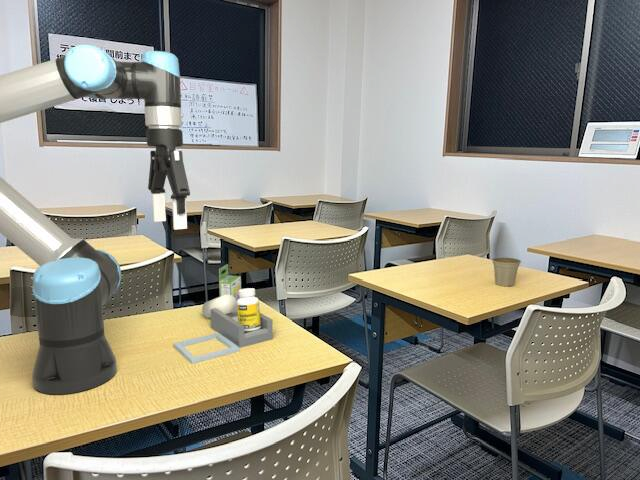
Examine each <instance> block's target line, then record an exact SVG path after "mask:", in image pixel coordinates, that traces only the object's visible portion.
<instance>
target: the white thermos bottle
mask: <svg viewBox="0 0 640 480" xmlns="http://www.w3.org/2000/svg"><path fill="white" fill-rule="evenodd" d="M236 305H237V303H236V300H235V298H234V297H233V296H232V295H224V296H221V297H220V296H218V297H215V298H213V299H211V300H207V301H206V302H204V304H203V305H202V308H201V311H202V314H203V316H204V317H205V318H207V319H211V309H214V308H216V309H218V310H219V311H221V312H223V313H224V314H228V313H231V312H233V311H234V310H235V309H236Z"/></svg>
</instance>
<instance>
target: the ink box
mask: <svg viewBox="0 0 640 480" xmlns="http://www.w3.org/2000/svg"><path fill="white" fill-rule="evenodd" d="M223 271H225V272H224V273H223ZM218 279H219V280H218V281H219V282H218V286H219V297H221V296H224V295H232V296H233V297H234V298H235V300H236V303H237V300H238V299H240V296H239V292H238V291H239V290H240V289H242V277H241V276H239V275H229V264H228V263H227V264H225V265H223V266H221V267H220V268H219V269H218ZM234 312H237V305H236V309H235V310H234V311H233V312H231V313H234ZM228 314H229V313H228Z"/></svg>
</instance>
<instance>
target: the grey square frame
mask: <svg viewBox="0 0 640 480" xmlns="http://www.w3.org/2000/svg"><path fill="white" fill-rule="evenodd" d="M215 339H217V340H218V341H219V342H220V343H222V344H223V345H225V346H226V347H227V348H225V349H220V350H215V351H212V352H209V353H204V354H200V355H197V356H195V355H193V353H191V351H189V350H188V349H187V348H186V346H190V345H194V344H199V343H202V342H207V341H212V340H215ZM172 344H173V348H175V349H176V351H178V352H179V353H180V354H181V355H182V356H183V357H184V358H185V359H186V360H188V361H189V362H190V363H191V364H194V363H200V362H203V361H206V360H207V361H208V360H211V359H215V358H218V357H222V356H226V355H230V354H233V353H237V352H240V348H241V347H240V348H239V347H238V346H237V345H235V344H234V343H232V342H231V341H230V340H228V339H227V338H225V337H224V336H223V335H221V334H220V333H218V332H215V333H211V334H207V335H203V336H199V337H193V338H190V339H185V340H181V341H176V342H173V343H172Z"/></svg>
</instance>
